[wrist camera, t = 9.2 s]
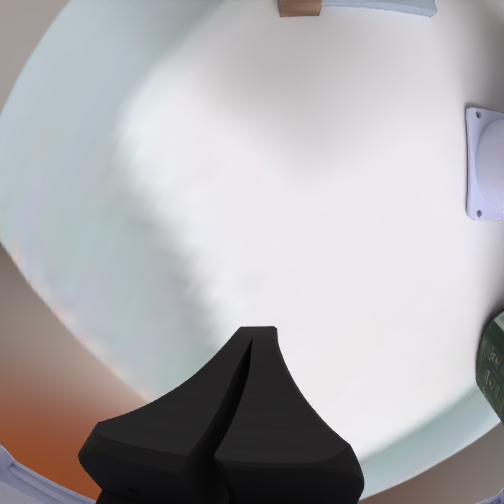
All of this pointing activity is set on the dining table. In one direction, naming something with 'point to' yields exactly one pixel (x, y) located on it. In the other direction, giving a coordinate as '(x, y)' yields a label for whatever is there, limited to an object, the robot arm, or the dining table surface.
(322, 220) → the dining table surface
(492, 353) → the coffee jar
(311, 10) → the brown long block
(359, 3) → the door panel
